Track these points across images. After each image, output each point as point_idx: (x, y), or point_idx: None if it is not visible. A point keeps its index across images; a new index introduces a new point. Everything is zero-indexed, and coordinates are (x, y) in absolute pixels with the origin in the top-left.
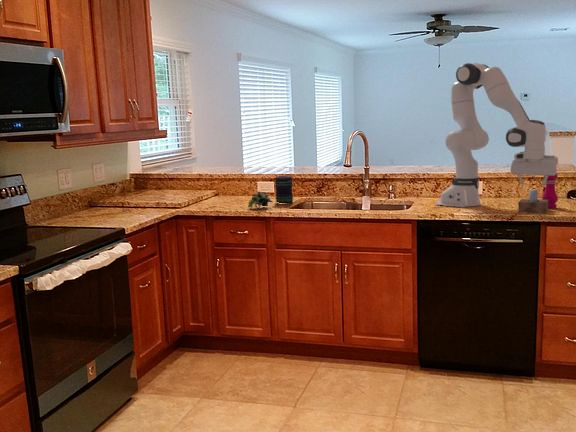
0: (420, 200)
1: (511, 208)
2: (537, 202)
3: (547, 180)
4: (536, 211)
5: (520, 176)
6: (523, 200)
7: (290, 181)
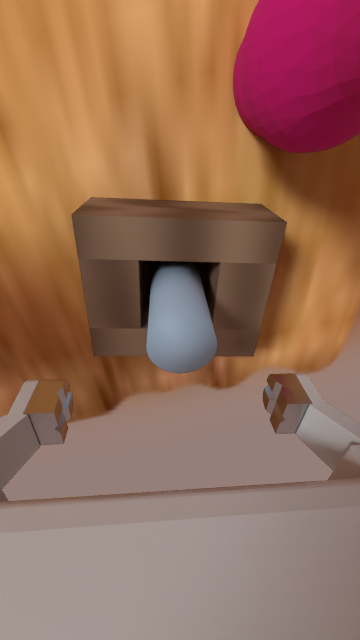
0: None
1: (17, 182)
2: None
3: None
4: None
5: (1, 500)
6: (108, 294)
7: None
